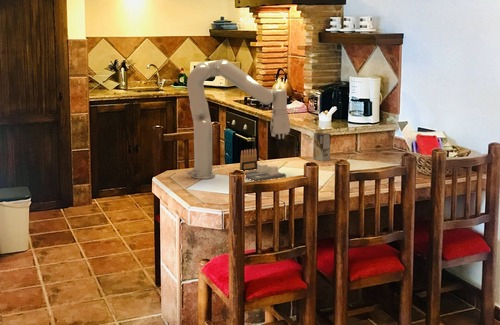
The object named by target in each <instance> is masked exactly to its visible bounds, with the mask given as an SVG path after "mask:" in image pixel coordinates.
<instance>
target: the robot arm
mask: <svg viewBox="0 0 500 325" xmlns="http://www.w3.org/2000/svg"><path fill="white" fill-rule="evenodd" d="M215 77H222V78H224V79H225V80H226V81H228V82H229V83H231V84H232V85H234V87H235V86H236V87H237V88H238V89H239V90H241V91H243V92H245V93H247V94H248V95H249V96H251V97H252V98H254V99H255V100H256V101H258V102H259V103H261V104H263V105H265V106H266V105H270V104H271V103H272V110H271V111H270V113H271V119H270V133H271V137H274V138H275V139H276V146H277V147H280V148H281V147H284V139H285V137H286V136H287V135H289V133H290V132H291V124H290V117H289V114H288V111H287V110H288V104H287V103H288V100H287V99H288V97H287V96H288V95H287V94H288V93H287V89H285V88H275V89H273V88H266V87H265V86H263V85H262V84H260V83H259V82H258V81H256V80H254V78H253V77H251V76H250V75H249V74H248V73H247V72H245V71H243V70H242V69H241V68H239V67H238V66H236V65H235V64H233V63H232V62H230V61H229V60H227V59H225V58H223V59H222V58H221V59H217V60H209V61H203V62H200V63H199V62H198V63H197V64H196V66H194V68H193V69H192V70H191V72H190V73H189V74H188V76H187V81H186V82H187V83H186V87H187V93H188V99H189V108H190V112H191V118H192V122H193V146H194V147H193V150H194V154H193V155H194V156H193V157H194V159H193V160H194V161H193V162H194V168H192V169H191V170H186V171H185V173H186V175H187V176H188V175H191V177H192V178H194V179H196V180H197V179H198V180H208V179H213V178H215V177H216V173H214V172H213V124H212V121H211V120H212V119H211V115H210V109H209V103H208V101H207V98H206V94H205V87H204V86H205V85H204V84H205V82H206V80H208V79H209V78H215Z"/></svg>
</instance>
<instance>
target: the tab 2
mask: <svg viewBox="0 0 500 325" xmlns="http://www.w3.org/2000/svg"><path fill="white" fill-rule="evenodd" d="M278 172H279V166H278V165H275V164H273V165H268V175H276V174H278Z"/></svg>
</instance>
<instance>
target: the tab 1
mask: <svg viewBox="0 0 500 325" xmlns="http://www.w3.org/2000/svg"><path fill="white" fill-rule="evenodd" d="M268 166H269V165H268V164H267V163H257V169H256V171H257V172H258V173H265V172H268Z"/></svg>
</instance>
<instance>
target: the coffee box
mask: <svg viewBox="0 0 500 325" xmlns="http://www.w3.org/2000/svg"><path fill="white" fill-rule="evenodd" d="M331 135H332V134H331V133H327V132H323V131H322V132H321V131H319V132H318V131H317V132H313V147H312V148H313V149H312V150H313V151H312V159H313V160H315V161H316V160H317V161H321V162H326V161H327V162H329V161H331V143H332V142H331V141H332V140H331V139H332V136H331Z"/></svg>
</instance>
